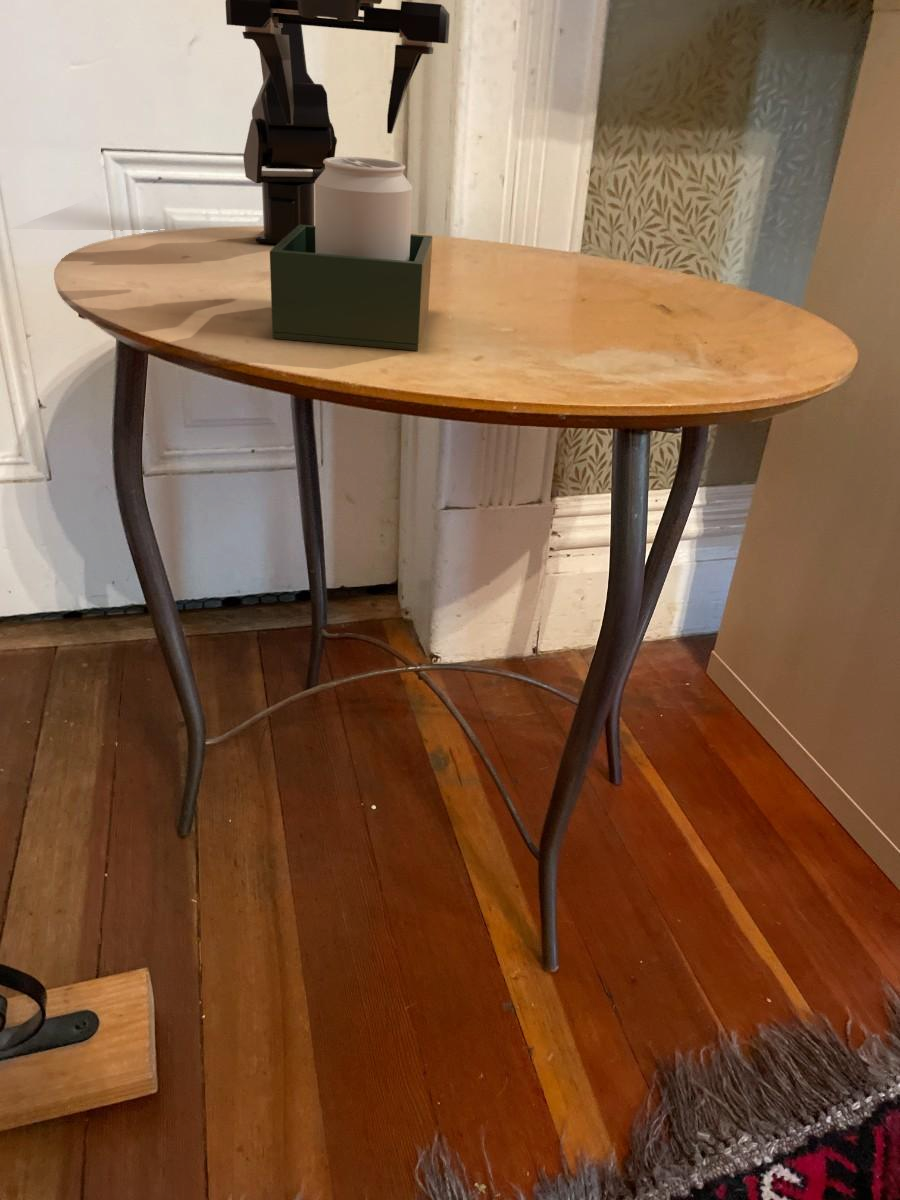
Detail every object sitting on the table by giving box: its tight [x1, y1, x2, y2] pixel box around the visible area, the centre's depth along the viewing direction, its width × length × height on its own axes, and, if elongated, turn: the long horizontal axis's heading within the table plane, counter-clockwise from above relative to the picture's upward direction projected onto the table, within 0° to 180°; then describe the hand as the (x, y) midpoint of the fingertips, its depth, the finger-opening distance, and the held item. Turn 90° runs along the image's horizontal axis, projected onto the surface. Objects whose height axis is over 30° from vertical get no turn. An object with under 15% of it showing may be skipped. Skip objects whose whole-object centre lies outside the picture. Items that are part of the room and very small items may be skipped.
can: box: [314, 156, 414, 261], centre depth 70 cm, size 8×8×12 cm
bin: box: [269, 224, 433, 352], centre depth 72 cm, size 11×11×6 cm
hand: (339, 128), depth 81 cm, fingers open, 9 cm apart
